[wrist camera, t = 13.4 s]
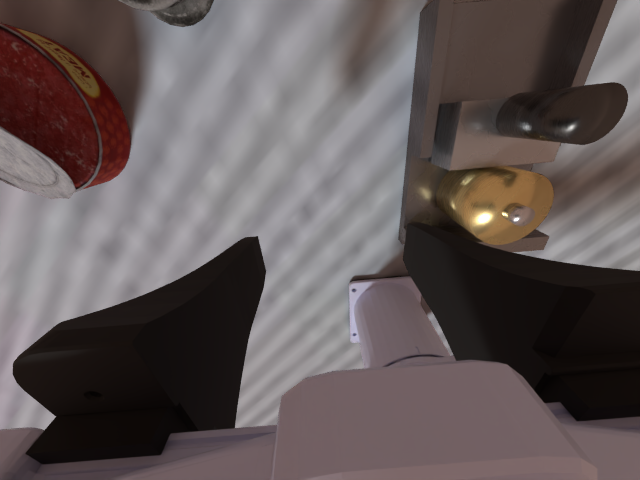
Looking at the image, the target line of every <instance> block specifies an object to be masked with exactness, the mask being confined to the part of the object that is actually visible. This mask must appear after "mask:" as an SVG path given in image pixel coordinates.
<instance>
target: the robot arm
mask: <svg viewBox="0 0 640 480" xmlns="http://www.w3.org/2000/svg"><path fill="white" fill-rule="evenodd" d="M403 261H404V263H405V266H406V268H407V270H408V273H409V275H410V276H407V277H395V278H383V279H371V280H360V281H352V282H350V283H349V311H350V340H351V342H353V343H356V342H359V344H360V349H361V353H362V358H363V363H364V368H365V369H353V370H341V371H332V372H327V373H323V374H319V375H315V376H311V377H307V378H305V379H303V380H302V381H301V382H299V383H298V384H297V385H296V386H294V387H293V388H292V389H290V390H289V391H288V392H286V393H285V394H284V395H283V396H282V398H281V403H280V408H279V414H278V423H277V425H269V426H257V427H245V428H235V421H236V413H237V405H238V398H239V391H240V385H241V378H242V372H243V366H244V360H245V355H246V350H247V344H248V339H249V335H250V331H251V327H252V324H253V321H254V317H255V314H256V311H257V308H258V305H259V301H260V298H261V295H262V291H263V288H264V281H265V274H266V269H265V265H264V261H263V256H262V252H261V248H260V244H259V239H258V236H256V237H245V238H243V239H241V240H240V241H238V242H237V243H235V244H234V245H232V246H231V247H230V248H228V249H227V250H225V251H224V252H222V253H221V254H220V255H218V256H217V257H215V258H214V259H212V260H211V261H209V262H207V263H206V264H204V265H203V266H201V267H200V268H198V269H196V270H195V271H193V272H191V273H189V274H187V275H185V276H184V277H182V278H180V279H178V280H176V281H174V282H172V283H170V284H167V285H165V286H163V287H161V288H158V289H156V290H154V291H152V292H149V293H147V294H145V295H142V296H139V297H137V298H134V299H132V300H129V301H126V302H124V303H121V304H118V305H115V306H112V307H109V308H106V309H103V310H100V311H97V312H93V313H90V314H87V315H84V316H80V317H77V318H74V319H70V320H67V321H63V322H61V323H59V324H57V325H56V326H55V327H53V328H52V329H51V330H50V331H48V332H47V333H46V334H45V335H44V336H42V337H41V338H40V339H39V340H37V341H36V342H35V343H34V344H33V345H31V346H30V347H29V348H28V349H27V350H25V351H24V352H23V353H22V354H20V355H19V356H18V358H17V359H16V360H15V361H14V363H13V376H14V378H15V380H16V382H17V383H18V384H19V385H20V387H21V388H22V389H23V390H24V391H26V392H27V393H28V394H29V395H30V396H32V397H33V398H34V399H35V400H37V401H38V402H39V403H40V404H41V405H43V406H44V407H45V408H46V409H48V410H49V411H50V412H51V413H52V414H54V415H55V416H56V418H55V419H54V420H53V421H52V422H51V424H50V425H49V426H48V427H47V428H46V429H45V431H44V430H42V429H38V428H15V429H2V430H0V480H640V271H632V270H622V269H611V268H601V267H592V266H585V265H578V264H570V263H563V262H557V261H551V260H546V259H541V258H535V257H530V256H525V255H521V254H516V253H512V252H508V251H504V250H501V249H497V248H493V247H490V246H486V245H483V244H480V243H477V242H474V241H471V240H468V239H465V238H463V237H460V236H457V235H454V234H452V233H449V232H447V231H444V230H441V229H439V228H436V227H433V226H431V225H428V224H424V223H420V222H419V223H407V228H406V237H405V246H404V255H403ZM352 289H355V290H352ZM422 296H423V298H424V299H425V301H426V302H427V304H428V306H429V307H430V309H431V310H432V312H433V314H434V315H435V317H436V319H437V321H438V323H439V325H440V327H441V329H442V331H443V333H444V335H445V337H446V339H447V341H448V344H449V346H450V348H451V350H452V353H453V355H452V356H450V354H449V353H448V351H447V349H446V347H445V346H444V344H443V342H442V341H441V339H440V337H439V335H438V334H437V332H436V330H435V329H434V327H433V325H432V323H431V322H430V320H429V318H428V317H427V315H426V313H425V311H424V310H423V308H422V306H421V305H420V303H421V297H422Z"/></svg>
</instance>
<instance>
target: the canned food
mask: <svg viewBox="0 0 640 480" xmlns="http://www.w3.org/2000/svg"><path fill="white" fill-rule="evenodd" d="M130 149H131V141H130V131H129V127H128V124H127V120H126V117H125V115H124V113H123V110H122V108H121V106H120V104H119V102H118V100H117V99H116V97H115V95H114V94H113V92H112V90H111V89H110V88H109V86H108V85H107V84H106V83H105V81H104V80H103V79H102V78H101V76H100V75H99V74H98V73H97V72H96V71H95V70H94V69H93V68H92V67H91V66H90V65H89V64H88V63H87V62H86V61H84V60H83V59H82V58H81V57H79V56H78V55H77V54H75V53H74V52H72V51H71V50H70V49H68V48H67V47H65V46H63V45H61V44H59V43H58V42H56V41H54V40H52V39H50V38H47V37H45V36H42V35H39V34H36V33H33V32H29V31H26V30H22V29H19V28H16V27H12V26H9V25H6V24H2V23H0V180H1V181H3V182H5V183H7V184H10V185H12V186H15V187H17V188H20V189H22V190H24V191H28V192H32V193H35V194H39V195H42V196H44V197H47V198H50V199H54V198H68V199H69V198H70V197H71V196H72V194H73V193H74V192H77V191H80V190H82V189H85V188H88V187H91V186H95V185H98V184H101V183H104V182H107V181H110V180H112V179H113V178H115V177H116V176H118V175H119V174H120V173H121V171H122V170H123V169H124V168H125V166H126V164H127V161H128V159H129V155H130Z"/></svg>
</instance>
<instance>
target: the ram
mask: <svg viewBox="0 0 640 480" xmlns="http://www.w3.org/2000/svg"><path fill="white" fill-rule="evenodd" d="M627 102H628V94H627V90H626V89H625V87H624V86H623V85H621V84H619V83H603V84H594V85H585V86H576V87H567V88H558V89H549V90H540V91H532V92H523V93H518V94H516V95H514V96H512V97H510V98H499V99H488V100H477V101H465V102H455V103H444V104H439V109H438V116H437V123H436V130H435V136H434V143H433V150H432V157H431V163H432V164H434V165H437V166H439V167H442V168H444V169H447V170H462V169H473V168H485V167H496V166H508V165H519V164H531V163H542V162H553V161H554V159H555V156H556V154H557V151H558V148H559V146H560V143H569V144H579V145H584V144H589V143H592V142H595V141H597V140H599V139H600V138H602V137H604V136H605V135H606V134H607V133H609V132H610V131H611V130H612V129H613V128H614V127H615V126H616V124H617V123H618V122H619V120H620V119H621V117H622V116H623V114H624V112H625V109H626V106H627Z"/></svg>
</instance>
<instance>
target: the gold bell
mask: <svg viewBox="0 0 640 480" xmlns="http://www.w3.org/2000/svg"><path fill="white" fill-rule="evenodd" d="M553 197H554V192H553V187H552V184H551V183H550V181H549V180H548V179H547V178H546V177H544V176H543V175H541V174H538V173H534V172H530V171H526V170H522V169H518V168H514V167H510V166H496V167H485V168H473V169H462V170H449V171H448V172H447V173H446V174H445V176H444V177H443V178H442V180H441V182H440V184H439V186H438V189H437V193H436V201H437V205H438V207H439V209H440V210H441V211H442V212H443V213H444V214H446V215H447V216H448V217H450V218H451V219H453V220H454V221H455V222H457V223H458V224H459V225H461V226H462V227H464V228H465V229H466V230H468V231H469V232H470V233H472V234H473V235H475V236H476V237H477V238H479V239H480V240H481V241H483V242H485V243H488V244H492V245H503V244H508V243H512V242H514V241H517V240H519V239H521V238H523V237H525V236H526V235H528V234H529V233H531V232H532V231H533V230H534V229H536V228H537V227H538V226H539V225H540V224H541V222H542V221H543V220H544V219H545V217H546V216H547V214H548V212H549V210H550V208H551V206H552V203H553Z"/></svg>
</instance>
